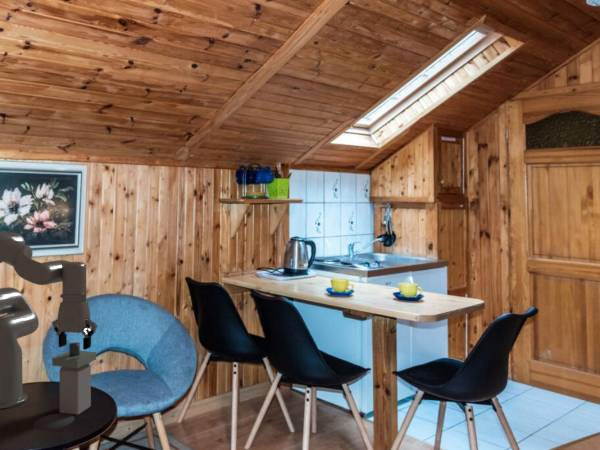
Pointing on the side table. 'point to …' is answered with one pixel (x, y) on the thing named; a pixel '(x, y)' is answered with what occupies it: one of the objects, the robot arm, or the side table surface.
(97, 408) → the side table surface
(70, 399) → the milk carton
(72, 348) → the square plate with knob
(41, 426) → the mat
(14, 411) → the side table surface
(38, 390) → the side table surface
